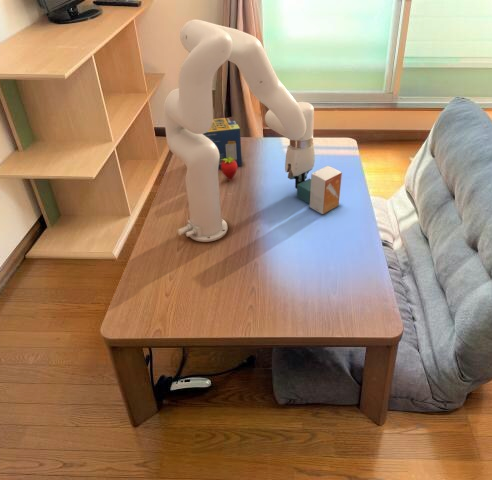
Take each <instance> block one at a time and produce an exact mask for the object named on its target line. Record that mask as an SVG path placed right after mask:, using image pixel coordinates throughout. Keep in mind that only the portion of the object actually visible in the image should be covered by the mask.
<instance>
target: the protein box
mask: <svg viewBox="0 0 492 480" xmlns="http://www.w3.org/2000/svg"><path fill="white" fill-rule="evenodd" d="M236 120H237V119H236V118H235V116H228V117H221V118H220V117H219V118H213V123H212V126H211V128H210V130H209V131H208V132H206V133H204V134H203V135H204V136H206V137H207V138H209V139H210V140H211V141H212V142H213V143H214V144H215V145H216V146H217V148H218V150H219V155H220V159H219V167H218V170H220V169H221V163H222V162H223V161H224V160H221V159H224V158H226V159H228V158H229V157H230V156H231V158H232V159H235V161H236V163H237V167H241V166H243V161H242V141H241V139H242V138H241V137H242V136H241V127H240V126H239V124H238V122H237V121H236ZM228 156H229V157H228Z"/></svg>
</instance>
